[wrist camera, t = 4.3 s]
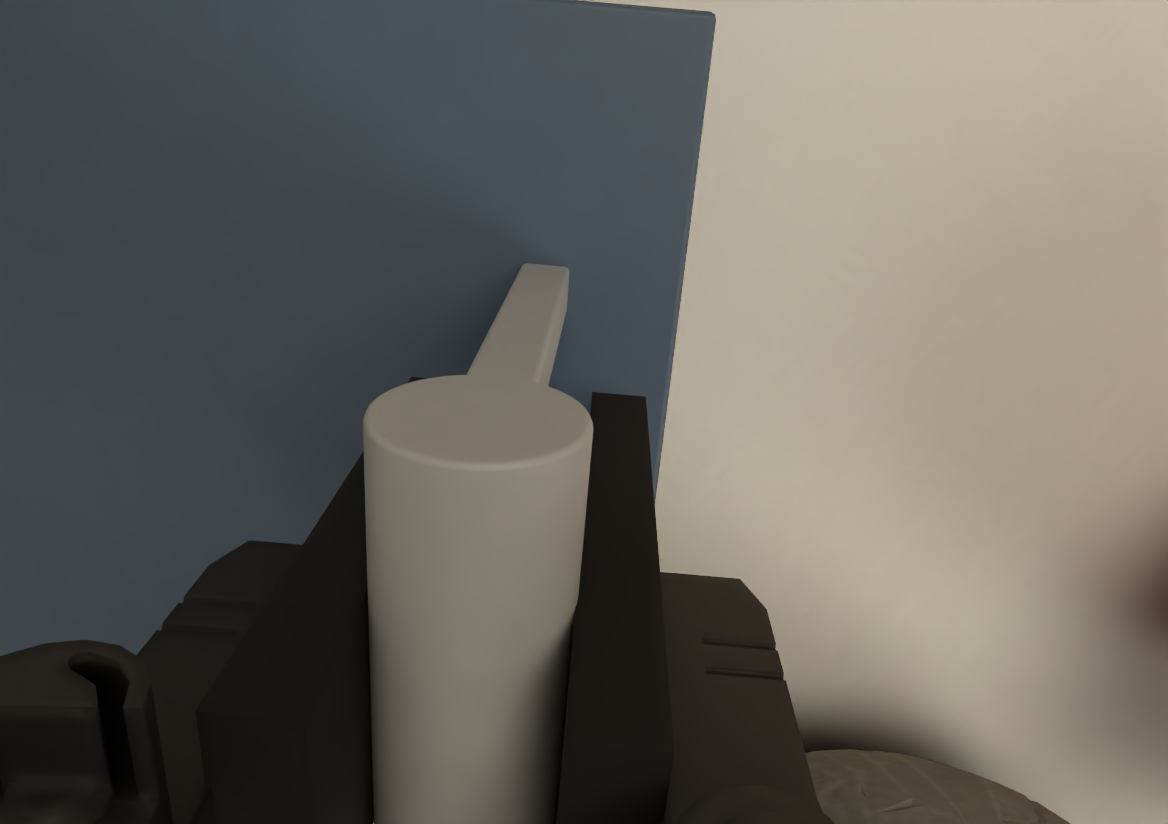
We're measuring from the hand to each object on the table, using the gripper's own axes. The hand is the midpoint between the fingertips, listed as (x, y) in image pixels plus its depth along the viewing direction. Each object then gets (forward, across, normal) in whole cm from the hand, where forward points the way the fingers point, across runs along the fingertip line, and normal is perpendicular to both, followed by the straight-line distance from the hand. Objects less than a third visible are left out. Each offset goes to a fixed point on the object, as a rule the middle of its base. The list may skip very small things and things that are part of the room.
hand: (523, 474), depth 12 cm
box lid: (+2, -5, 0) cm, 5 cm away
